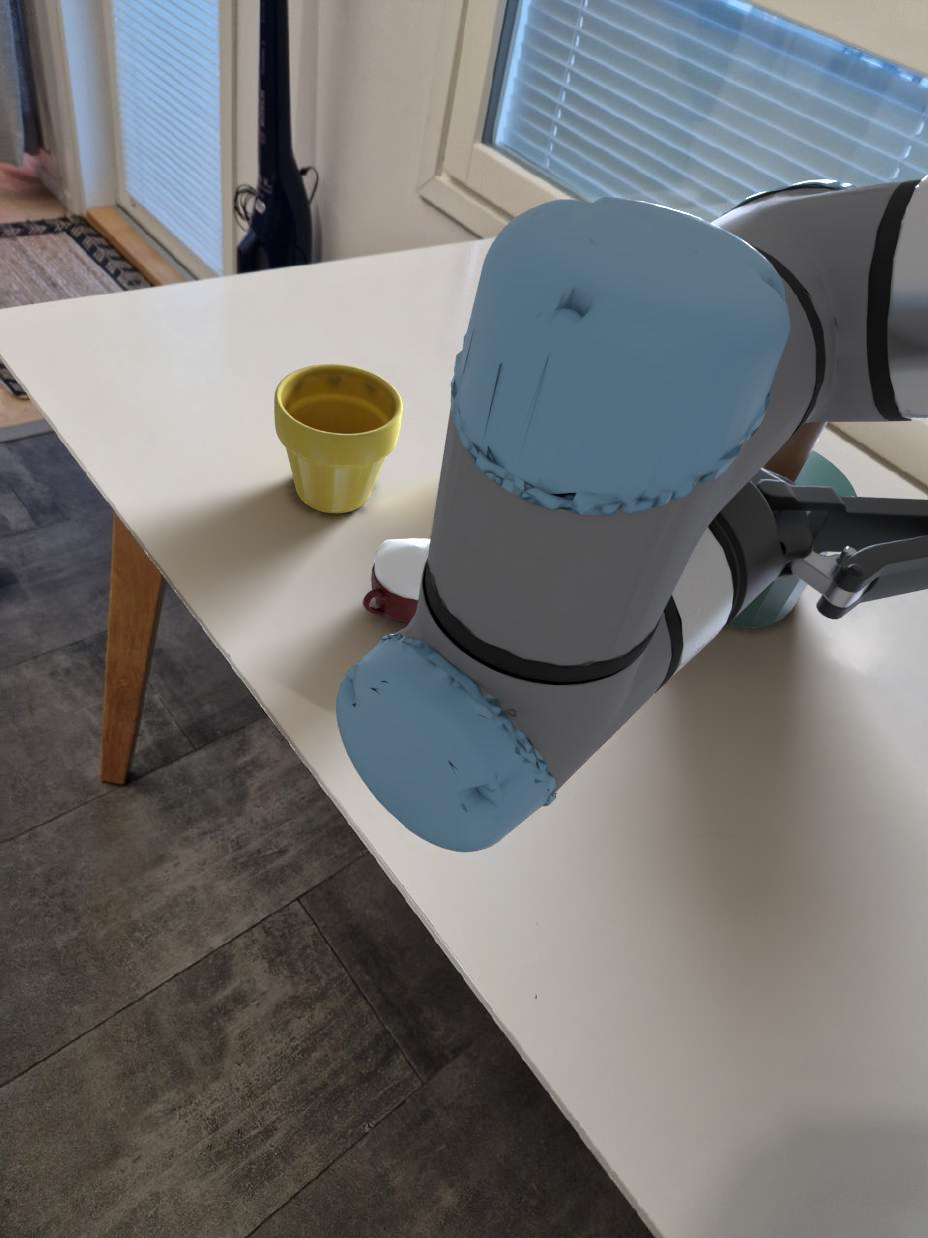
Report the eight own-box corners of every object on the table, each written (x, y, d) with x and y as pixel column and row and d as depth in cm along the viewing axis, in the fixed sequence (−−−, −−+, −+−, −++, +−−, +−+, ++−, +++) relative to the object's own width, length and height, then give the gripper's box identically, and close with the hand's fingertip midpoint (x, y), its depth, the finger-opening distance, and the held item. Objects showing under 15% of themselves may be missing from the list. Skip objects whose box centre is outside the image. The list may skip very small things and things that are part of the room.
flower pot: (348, 546, 73) (356, 451, 66) (249, 494, 75) (247, 398, 68) (412, 487, 80) (426, 395, 73) (320, 441, 82) (325, 348, 75)
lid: (883, 513, 71) (949, 413, 64) (786, 568, 64) (849, 463, 57) (756, 425, 78) (804, 325, 71) (656, 466, 71) (698, 360, 64)
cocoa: (364, 642, 66) (379, 522, 57) (345, 584, 70) (356, 464, 61) (480, 625, 69) (510, 510, 60) (456, 571, 73) (481, 455, 64)
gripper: (432, 486, 44) (655, 364, 56) (884, 805, 34) (1032, 573, 47) (454, 353, 39) (695, 250, 51) (996, 686, 29) (1130, 460, 41)
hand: (857, 404), depth 49 cm, fingers open, 13 cm apart
